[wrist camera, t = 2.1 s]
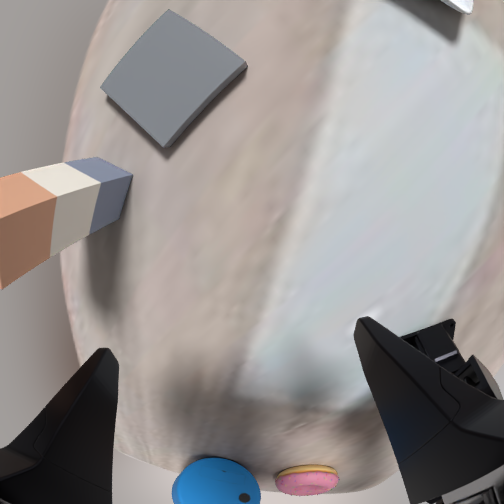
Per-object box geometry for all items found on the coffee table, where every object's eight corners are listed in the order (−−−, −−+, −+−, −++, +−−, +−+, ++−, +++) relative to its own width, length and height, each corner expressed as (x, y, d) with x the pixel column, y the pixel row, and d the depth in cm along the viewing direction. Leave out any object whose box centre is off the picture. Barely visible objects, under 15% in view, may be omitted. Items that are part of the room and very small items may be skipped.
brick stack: (132, 174, 19) (-3, 219, 7) (119, 218, 20) (1, 289, 9) (97, 156, 19) (-33, 188, 7) (85, 199, 20) (-30, 252, 9)
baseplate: (247, 66, 15) (245, 61, 14) (169, 147, 18) (163, 147, 17) (174, 14, 14) (168, 9, 13) (108, 89, 16) (99, 87, 15)
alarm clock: (182, 455, 36) (159, 523, 22) (189, 445, 33) (164, 522, 19) (251, 475, 36) (240, 542, 22) (266, 466, 34) (255, 541, 20)
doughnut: (280, 482, 37) (278, 499, 33) (271, 463, 33) (269, 484, 30) (337, 477, 35) (337, 495, 31) (339, 458, 31) (341, 479, 28)
